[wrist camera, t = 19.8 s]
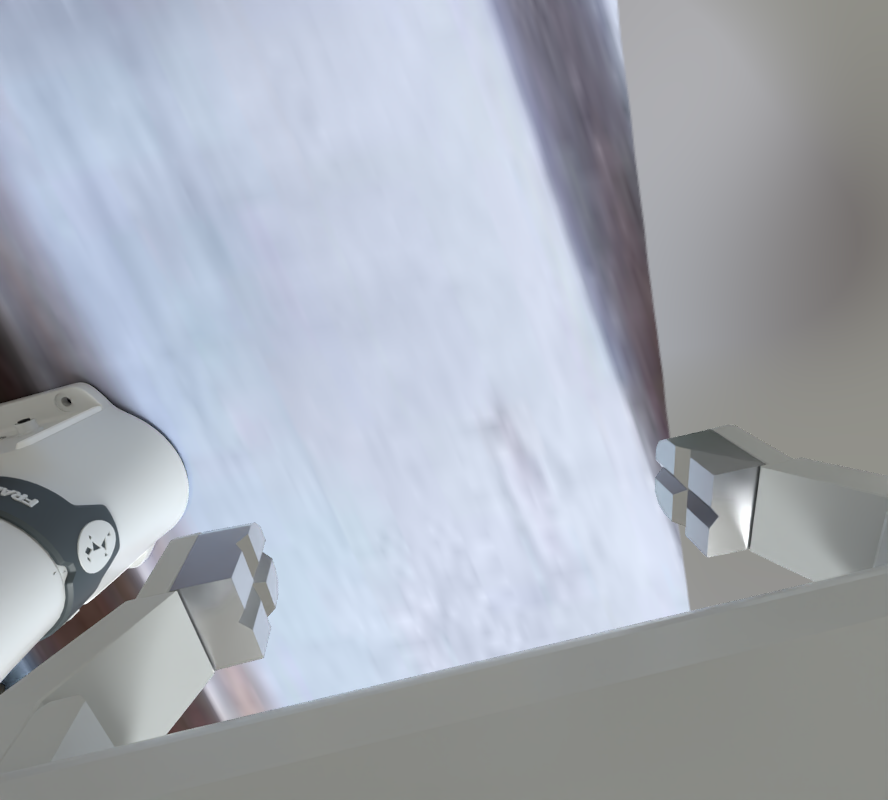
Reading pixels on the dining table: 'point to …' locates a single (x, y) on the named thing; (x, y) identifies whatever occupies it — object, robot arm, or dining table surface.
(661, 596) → the dining table surface
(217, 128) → the dining table surface
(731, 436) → the robot arm
